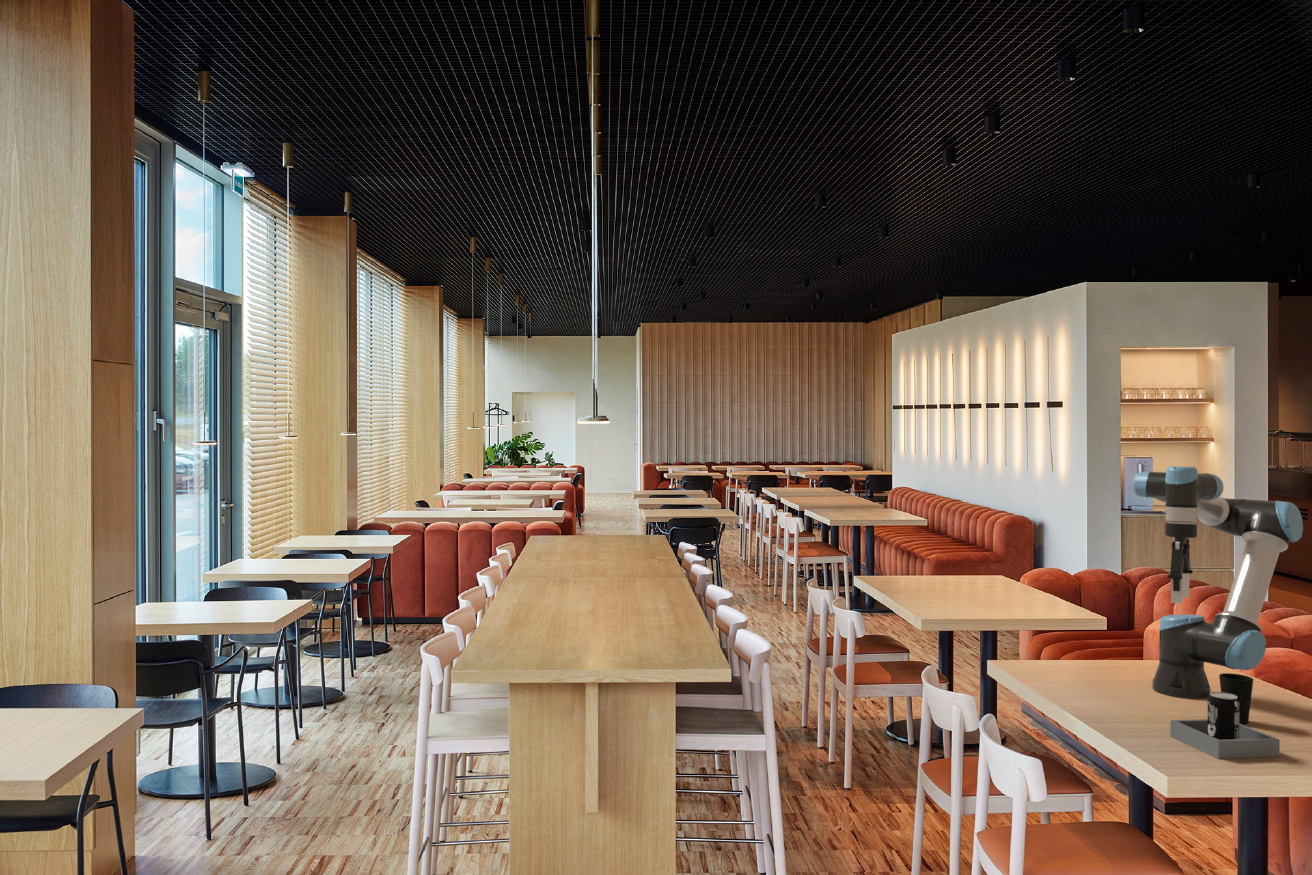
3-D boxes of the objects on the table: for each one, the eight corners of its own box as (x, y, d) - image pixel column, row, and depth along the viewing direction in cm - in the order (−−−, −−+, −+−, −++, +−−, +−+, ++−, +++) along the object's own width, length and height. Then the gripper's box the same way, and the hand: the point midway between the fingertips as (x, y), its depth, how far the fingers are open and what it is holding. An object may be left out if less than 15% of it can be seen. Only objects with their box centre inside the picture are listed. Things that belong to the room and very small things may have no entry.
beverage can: (1201, 739, 219) (1201, 691, 219) (1225, 739, 220) (1226, 691, 220) (1220, 748, 213) (1220, 698, 213) (1245, 748, 213) (1246, 698, 213)
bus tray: (1227, 734, 225) (1227, 718, 225) (1279, 756, 209) (1279, 739, 209) (1170, 736, 223) (1170, 720, 223) (1218, 758, 207) (1218, 741, 207)
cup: (1242, 727, 231) (1242, 681, 231) (1212, 719, 238) (1213, 674, 238) (1259, 723, 235) (1259, 678, 235) (1229, 715, 242) (1229, 671, 242)
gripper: (1171, 519, 254) (1171, 592, 253) (1158, 524, 234) (1157, 604, 234) (1202, 520, 249) (1201, 595, 249) (1191, 526, 229) (1190, 607, 229)
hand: (1180, 599), depth 241 cm, fingers open, 13 cm apart
